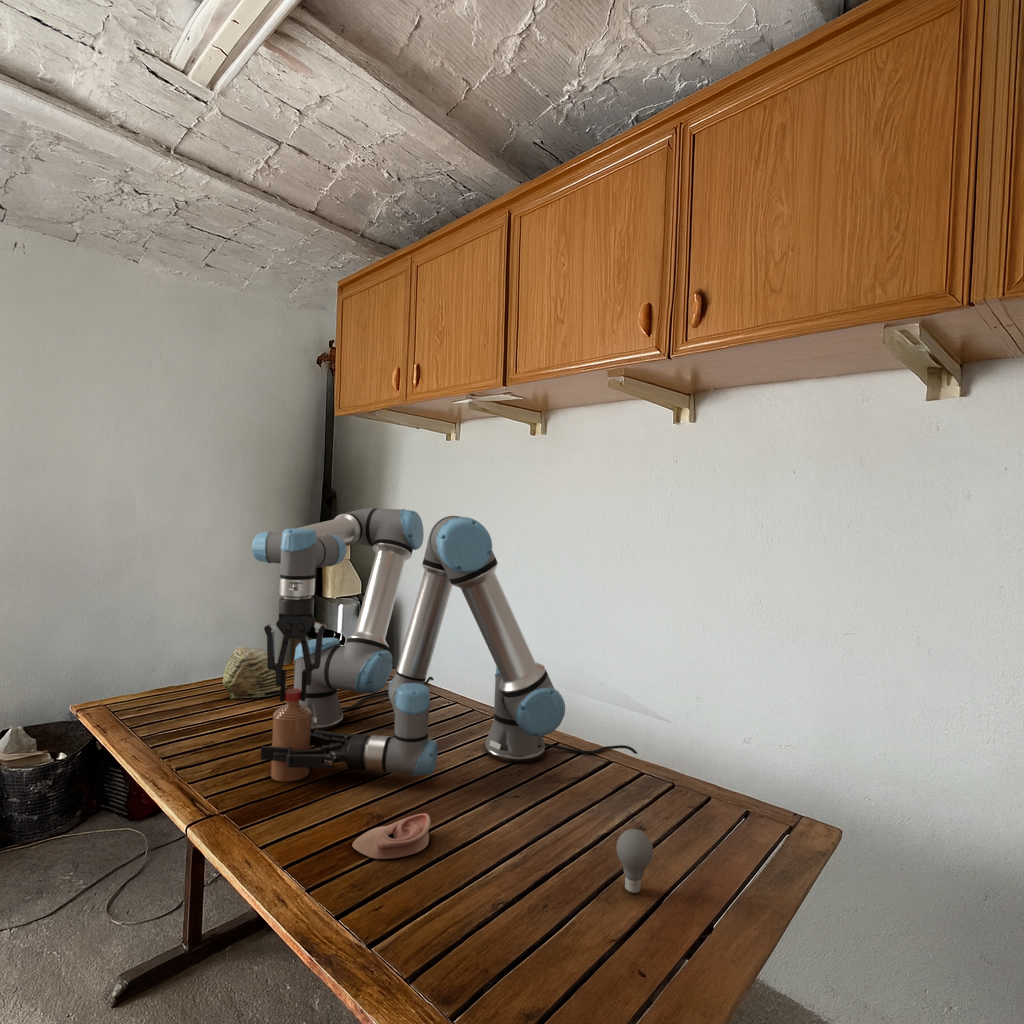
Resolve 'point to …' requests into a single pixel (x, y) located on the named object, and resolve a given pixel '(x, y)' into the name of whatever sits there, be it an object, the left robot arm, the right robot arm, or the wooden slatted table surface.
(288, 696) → the cap
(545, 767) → the wooden slatted table surface
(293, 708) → the bottle
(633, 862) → the light bulb
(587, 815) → the wooden slatted table surface
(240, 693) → the fossil
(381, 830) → the anatomical model
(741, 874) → the wooden slatted table surface
